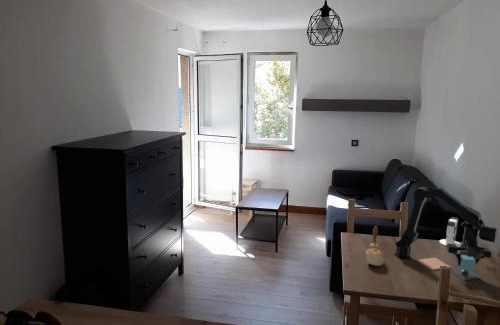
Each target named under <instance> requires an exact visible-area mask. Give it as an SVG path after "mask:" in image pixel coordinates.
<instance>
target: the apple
mask: <svg viewBox="0 0 500 325" xmlns="http://www.w3.org/2000/svg"><path fill="white" fill-rule="evenodd" d="M365 258H366V261H367V263H368V264H370V265H372V266H376V267H380V266H382V265H383V264H384V263H385V259H386V258H385V254H384V253H383V251H382V250H380V249H379V250H378V249H375V248H372V249H370V250H369V251H368V252H367V254H366V257H365Z"/></svg>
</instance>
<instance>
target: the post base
mask: <svg viewBox="0 0 500 325" xmlns="http://www.w3.org/2000/svg"><path fill="white" fill-rule="evenodd" d="M450 270H451V272H450V273H452V274H453V275H455V276H457V277H458V278H460V279H462V280H463V281H471V280H478V279H481V275H479V274H477V273H475V271H467V270H461V269H460V268H452V269H451V268H450Z"/></svg>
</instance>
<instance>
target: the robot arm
mask: <svg viewBox="0 0 500 325" xmlns="http://www.w3.org/2000/svg"><path fill="white" fill-rule="evenodd" d="M428 198H439V199H440V200H442V201H443V202H444V203H446V204H447V205H448V206H450V208H452V209H453V210H455V211H456V212H457V213H458V214H459V215H460V217H461V218H462V219H463V220H464V222H461V224H459V225H460V227H463V228H464V232H463V236H462V243H461V246H460V247H457V246H456V245H455V244H447V245H446V246H445V249H446V252H448V253H450V254H453V255H455V258H456V261H457V266H458V267H459V266H460V257H461V255H462V254H461V252H464V253H465V254H466V256H468V257H473V258H474V259H475V261H476V265H475V267H477V264H478V263H479V262H480V261H481V260H482V259H485V258H487V259H488V258H489V259H491V258H492V257H493V256H492V255H493V253H492V251H491V250H490V249H489V248H488V247H482V246H479V245H478V237H479V239H480V240H481V241H487V242H489V243H490V242H491V243H496V240H497V237H498V231H497V230H498V228H497V227H494V226H493V227H492V226H487V225H486V224H485V222H484V220H483V219H482V214H481V213H480V211H478V210H476V209H474V208H472V207H470V206H467V205H465V204H463V202H461V201H460V200H458V199H457V198H456V197H455V196H453V195H451V194H450V193H449V192H447V190H445V189H444V188H443V187H427V186H421V187H418V188H417V189H415V191H414V192H413V205H412V206H413V207H412V209H411V213H410V216H409V220H408V223H407V227H406V229H405V231H404V232H403V233H402V236H401V238H400V239H399V240H397V241H396V242H395V245H396V249H395V250H396V252H394V254H393V255H394V256H396V257H397V258H399V259H400V260H405V259H407V260H408V259H412V257H411V251H412V250H411V245H413V243H415V242H416V241H417V240H418V236H419V232H418V231H417V227H418V223H419V220H420V216H421V214H422V213H421V212H422V210H423V206H424V205H425V203H426V201H427V200H428Z"/></svg>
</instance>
